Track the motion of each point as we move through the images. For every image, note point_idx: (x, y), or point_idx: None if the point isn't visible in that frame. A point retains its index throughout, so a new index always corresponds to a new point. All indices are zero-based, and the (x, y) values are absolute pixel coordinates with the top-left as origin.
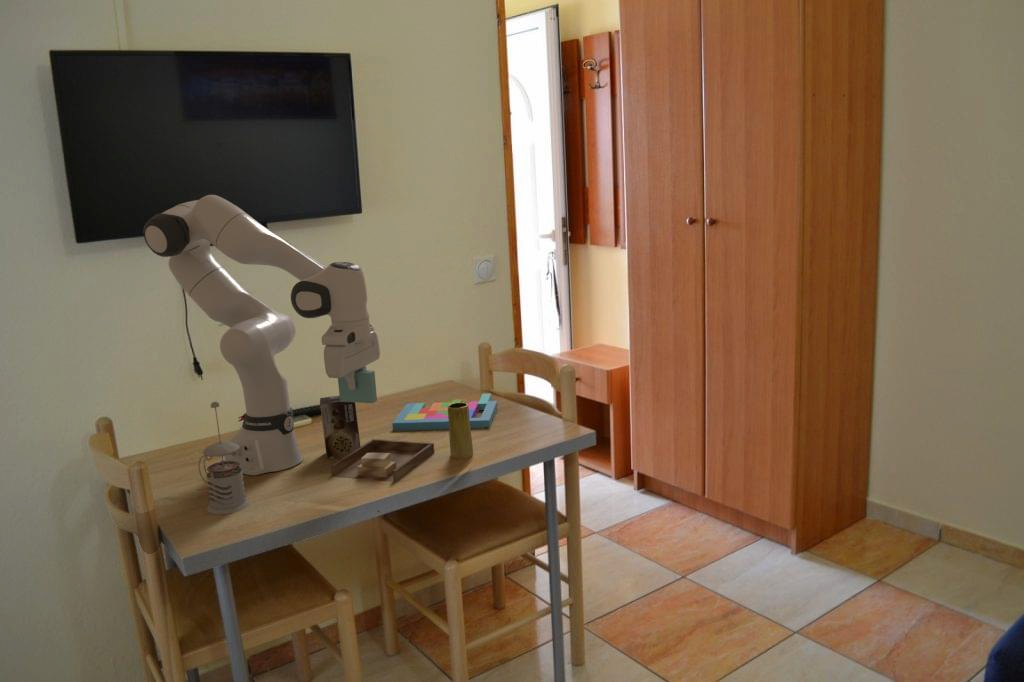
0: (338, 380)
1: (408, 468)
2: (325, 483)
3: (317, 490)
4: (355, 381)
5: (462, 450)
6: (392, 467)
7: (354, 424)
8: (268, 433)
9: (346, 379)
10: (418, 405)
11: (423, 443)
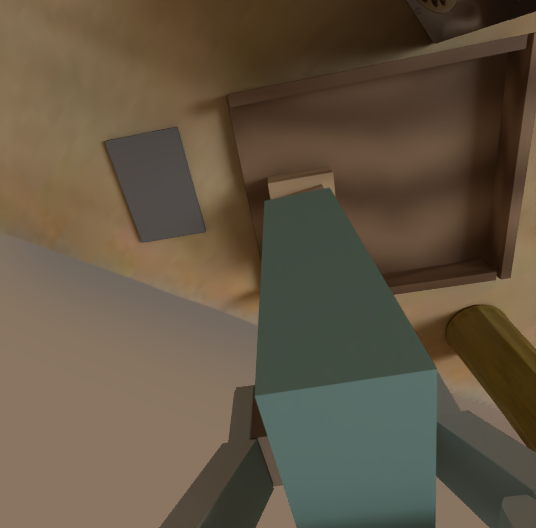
0: (259, 301)
1: None
2: (198, 98)
3: (146, 117)
4: (272, 490)
5: (464, 363)
6: None
7: (505, 4)
8: None
9: (196, 488)
10: None
11: (504, 252)
